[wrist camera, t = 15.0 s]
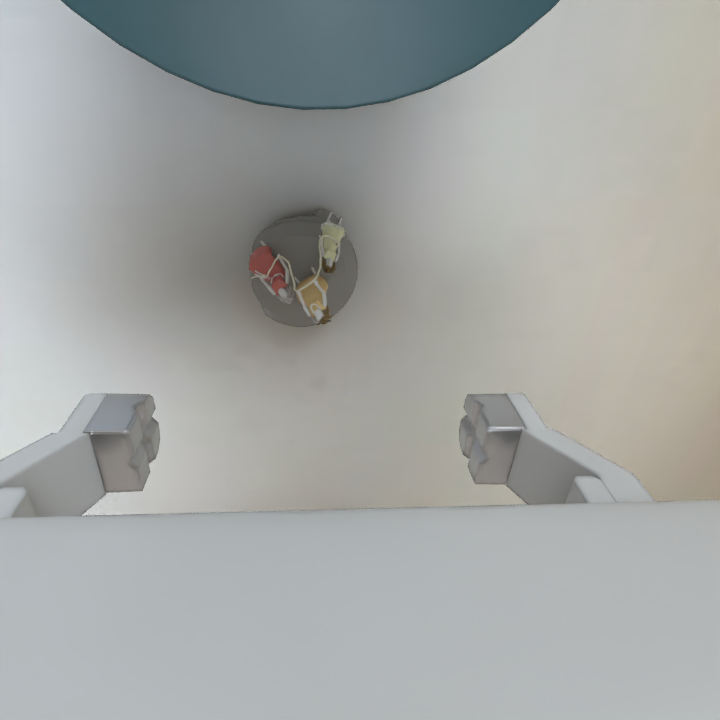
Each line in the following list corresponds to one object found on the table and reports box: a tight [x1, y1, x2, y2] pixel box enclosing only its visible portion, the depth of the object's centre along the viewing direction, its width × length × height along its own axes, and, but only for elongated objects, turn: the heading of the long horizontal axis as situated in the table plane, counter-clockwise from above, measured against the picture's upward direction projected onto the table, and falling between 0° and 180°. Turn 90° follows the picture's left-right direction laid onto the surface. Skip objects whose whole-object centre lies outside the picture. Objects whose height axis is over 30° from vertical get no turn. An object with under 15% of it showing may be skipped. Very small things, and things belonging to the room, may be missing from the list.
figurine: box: [249, 210, 357, 327], centre depth 19 cm, size 5×4×6 cm
